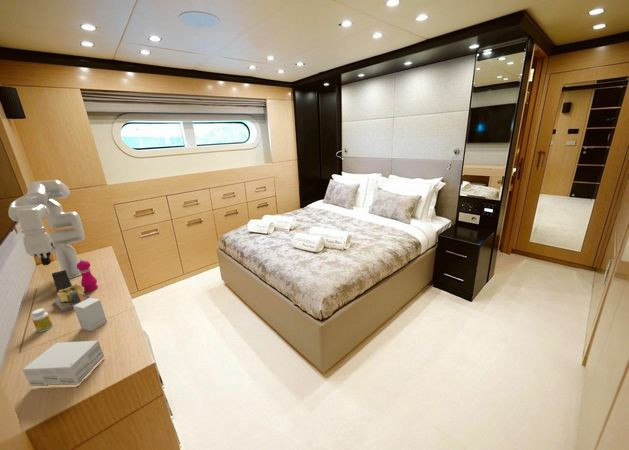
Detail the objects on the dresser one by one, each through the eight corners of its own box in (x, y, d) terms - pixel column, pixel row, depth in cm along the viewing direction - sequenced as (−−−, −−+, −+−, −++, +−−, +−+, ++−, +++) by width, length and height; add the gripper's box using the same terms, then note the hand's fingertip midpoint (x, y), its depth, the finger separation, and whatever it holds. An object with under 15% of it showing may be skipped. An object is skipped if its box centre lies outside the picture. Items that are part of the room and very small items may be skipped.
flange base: (54, 302, 145) (50, 293, 143) (81, 292, 154) (78, 283, 153) (62, 312, 136) (59, 302, 134) (91, 300, 145) (88, 291, 144)
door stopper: (58, 288, 160) (52, 271, 156) (71, 285, 163) (65, 267, 160) (58, 294, 153) (51, 276, 149) (71, 290, 157) (65, 272, 153)
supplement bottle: (42, 333, 121) (34, 315, 118) (34, 331, 122) (26, 313, 119) (55, 325, 126) (48, 308, 123) (47, 323, 127) (40, 306, 124)
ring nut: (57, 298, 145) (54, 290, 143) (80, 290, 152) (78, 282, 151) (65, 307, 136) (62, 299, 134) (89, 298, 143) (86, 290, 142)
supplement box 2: (107, 321, 127) (100, 299, 123) (91, 332, 121) (83, 308, 117) (97, 319, 130) (90, 297, 126) (80, 328, 123) (72, 305, 119)
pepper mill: (102, 286, 161) (92, 256, 155) (91, 292, 154) (81, 261, 148) (91, 285, 161) (81, 256, 155) (80, 292, 155) (69, 261, 148)
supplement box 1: (106, 358, 105) (99, 339, 102) (78, 388, 93) (70, 367, 90) (64, 360, 105) (56, 341, 102) (30, 389, 93) (20, 369, 90)
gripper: (10, 236, 128) (24, 269, 134) (47, 232, 132) (59, 265, 137) (22, 231, 135) (35, 263, 141) (57, 228, 139) (68, 259, 144)
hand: (47, 264), depth 139 cm, fingers closed
